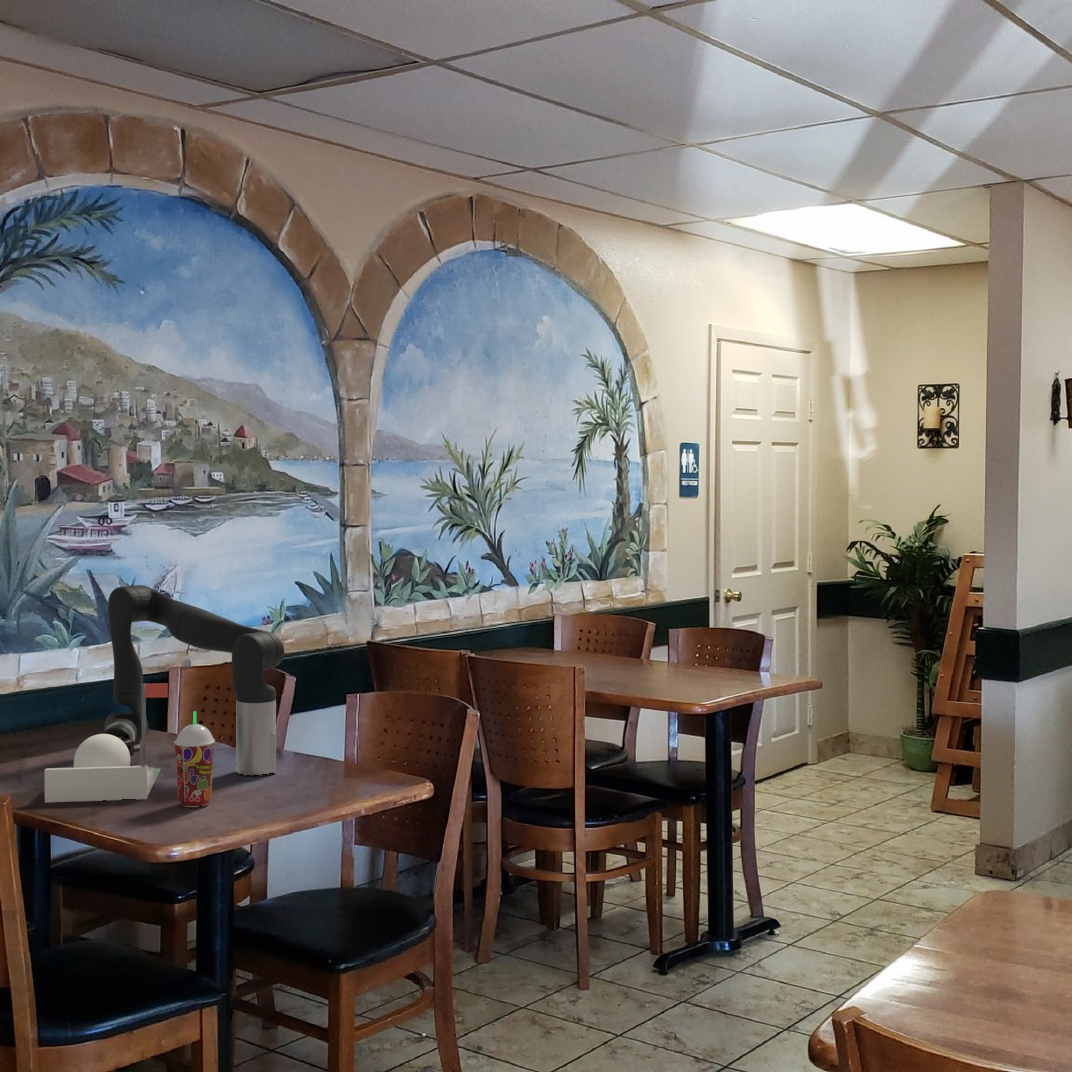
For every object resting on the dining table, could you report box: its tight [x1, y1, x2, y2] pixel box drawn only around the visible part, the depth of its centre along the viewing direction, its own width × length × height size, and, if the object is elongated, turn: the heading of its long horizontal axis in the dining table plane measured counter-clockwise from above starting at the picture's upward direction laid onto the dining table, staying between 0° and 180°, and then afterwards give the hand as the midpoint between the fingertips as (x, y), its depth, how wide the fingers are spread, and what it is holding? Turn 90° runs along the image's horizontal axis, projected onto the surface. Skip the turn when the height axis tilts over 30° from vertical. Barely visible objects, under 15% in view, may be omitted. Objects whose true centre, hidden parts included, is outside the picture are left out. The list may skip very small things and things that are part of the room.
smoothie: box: [173, 710, 216, 807], centre depth 274 cm, size 8×8×20 cm
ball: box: [73, 733, 131, 768], centre depth 288 cm, size 12×12×12 cm
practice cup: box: [44, 682, 169, 803], centre depth 292 cm, size 25×30×25 cm
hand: (107, 754), depth 294 cm, fingers closed
